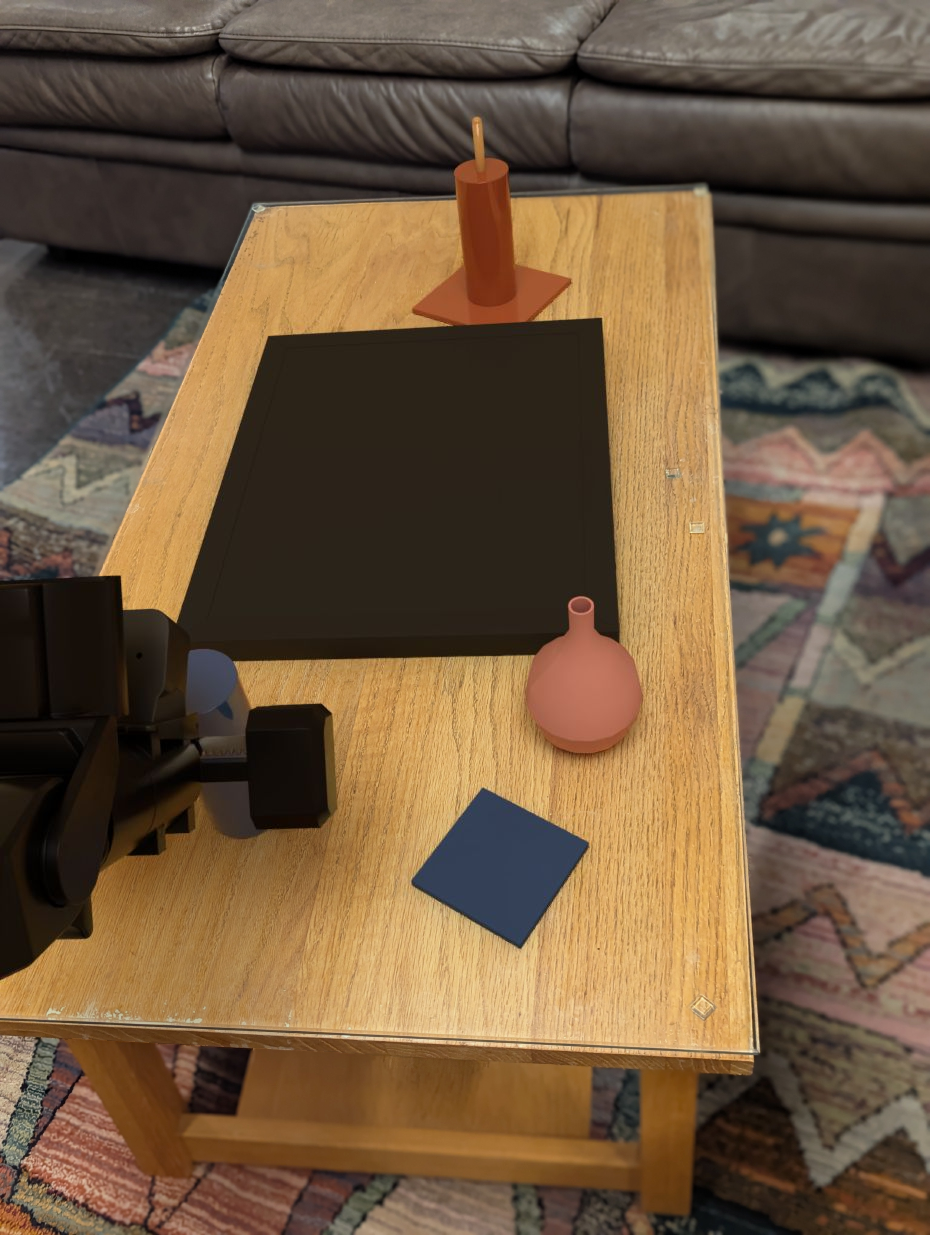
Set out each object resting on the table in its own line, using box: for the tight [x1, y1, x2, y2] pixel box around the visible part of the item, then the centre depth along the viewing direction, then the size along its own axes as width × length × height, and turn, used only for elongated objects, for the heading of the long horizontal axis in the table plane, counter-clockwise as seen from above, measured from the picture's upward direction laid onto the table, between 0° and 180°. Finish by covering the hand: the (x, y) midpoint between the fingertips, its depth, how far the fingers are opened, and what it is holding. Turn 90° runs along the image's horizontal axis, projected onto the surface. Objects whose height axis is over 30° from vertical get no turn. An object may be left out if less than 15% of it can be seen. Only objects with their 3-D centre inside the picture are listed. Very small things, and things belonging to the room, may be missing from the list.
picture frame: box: [176, 317, 621, 662], centre depth 92 cm, size 40×2×33 cm
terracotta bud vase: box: [524, 597, 644, 754], centre depth 69 cm, size 8×8×12 cm
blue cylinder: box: [186, 649, 267, 840], centre depth 67 cm, size 5×5×13 cm
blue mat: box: [410, 787, 590, 950], centre depth 67 cm, size 8×8×1 cm
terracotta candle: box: [453, 116, 517, 306], centre depth 105 cm, size 5×5×18 cm
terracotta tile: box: [411, 263, 572, 326], centre depth 112 cm, size 12×12×1 cm
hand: (207, 744), depth 65 cm, fingers open, 9 cm apart
